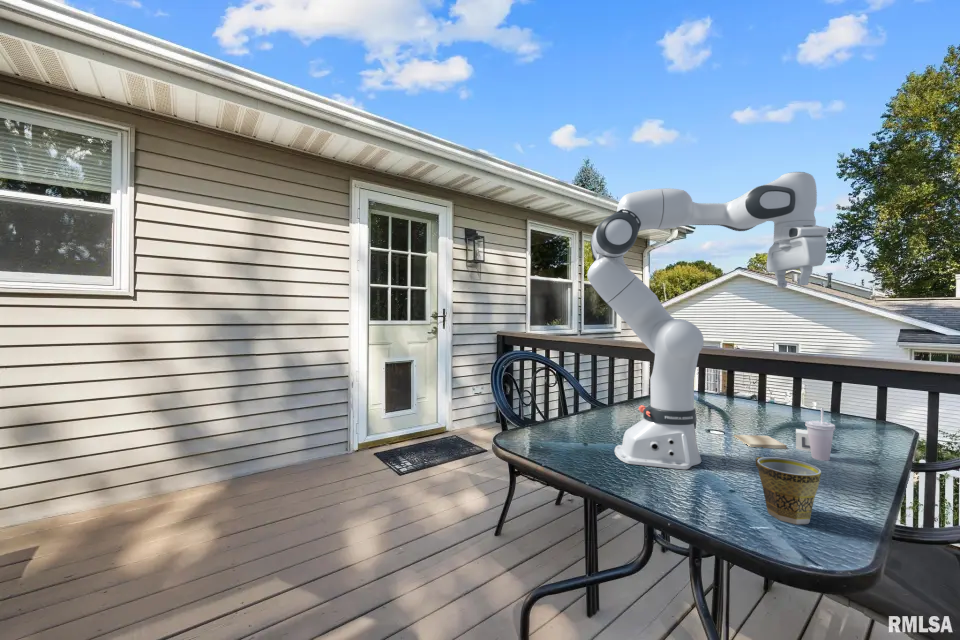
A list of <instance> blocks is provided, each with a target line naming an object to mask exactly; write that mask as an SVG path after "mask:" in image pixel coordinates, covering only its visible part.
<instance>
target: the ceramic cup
mask: <svg viewBox="0 0 960 640" xmlns="http://www.w3.org/2000/svg"><path fill="white" fill-rule="evenodd" d="M755 465H756V468H757V471H758V476H759V479H760V482H761V486H762V491H763V495H764V500H765V505H766V510H767V511H766V512H767V513H768V515H770V516H771V517H773V518H775V519H777V520H778V521H781V522H785V523H789V524H793V525H809V523H810V522H811V516H812V511H813V506H814V502H815V497H816V495H817V492H818V489H819V485H820V481H821V476H822V470H821V469H820V468H818V467H817V466H815V465H814V464H810V463H807V462H804V461H800V460H797V459H791V458H788V457H787V458H786V457H779V456H777V457H776V456H766V457H763V456H758V457H756V459H755Z"/></svg>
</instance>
